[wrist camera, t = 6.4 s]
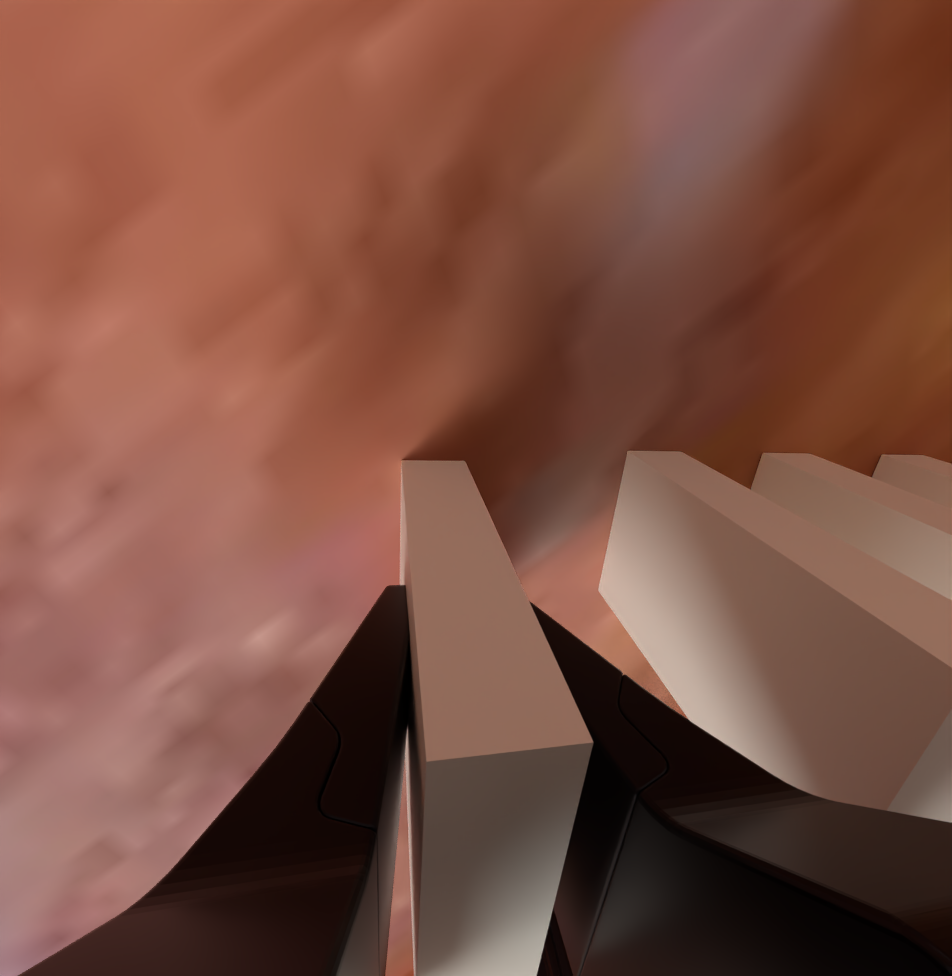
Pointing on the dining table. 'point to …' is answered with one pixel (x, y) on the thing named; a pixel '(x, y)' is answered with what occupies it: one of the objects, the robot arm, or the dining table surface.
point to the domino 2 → (864, 514)
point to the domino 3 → (784, 637)
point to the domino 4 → (917, 476)
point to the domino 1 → (480, 739)
